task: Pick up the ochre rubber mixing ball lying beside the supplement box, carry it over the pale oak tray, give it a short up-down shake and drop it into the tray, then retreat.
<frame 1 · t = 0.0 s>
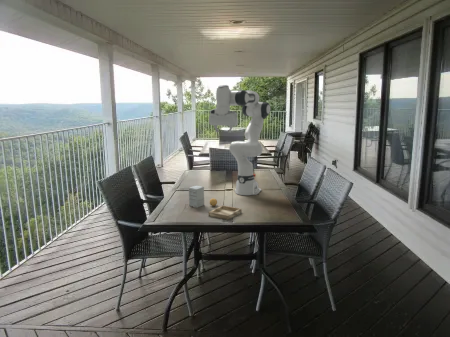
hand: (223, 132, 229), 48 cm above the table, fingers open, 8 cm apart
ball: (213, 202, 232), point 2 cm above the table
tray: (225, 214, 215), on the table
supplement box: (196, 205, 234), on the table
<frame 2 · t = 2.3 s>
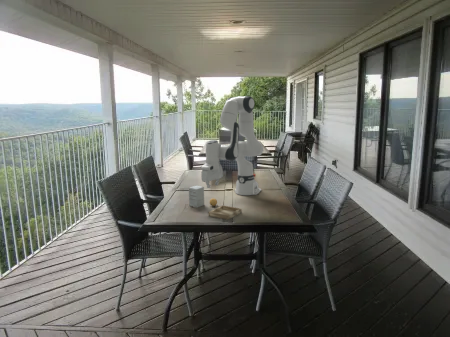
hand: (212, 186, 230), 13 cm above the table, fingers open, 8 cm apart
nothing on the table moved.
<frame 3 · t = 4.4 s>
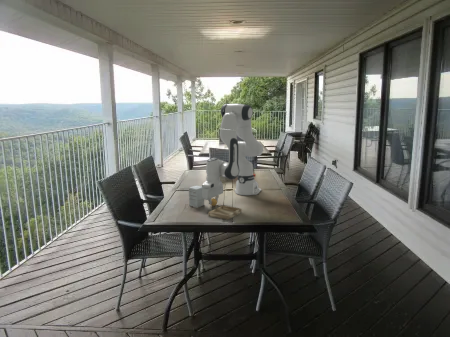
hand: (213, 203, 232), 2 cm above the table, fingers closed on ball, 5 cm apart
ball: (213, 202, 232), point 2 cm above the table, touching gripper
everything else where it was.
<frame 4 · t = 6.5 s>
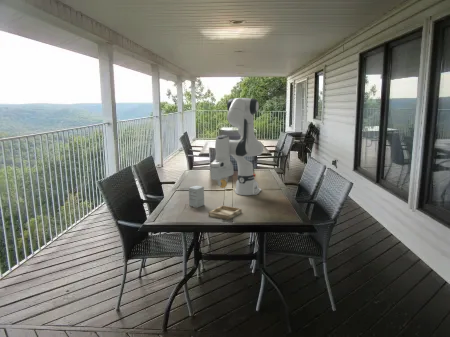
hand: (222, 184, 213), 18 cm above the table, fingers closed on ball, 5 cm apart
ball: (222, 183, 213), point 19 cm above the table, touching gripper
everything else where it was.
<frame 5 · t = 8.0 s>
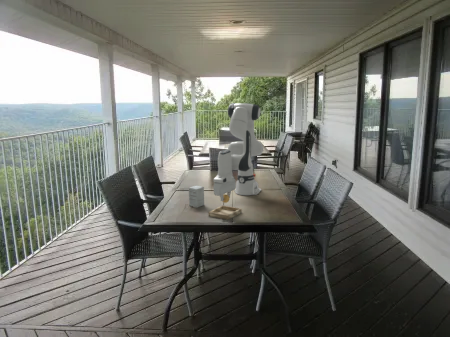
hand: (225, 199, 213), 9 cm above the table, fingers closed on ball, 5 cm apart
ball: (225, 198, 213), point 10 cm above the table, touching gripper
everything else where it was.
when the fingers open (6 cm above the table, at t = 9.1 s): ball drops 3 cm, resting on tray.
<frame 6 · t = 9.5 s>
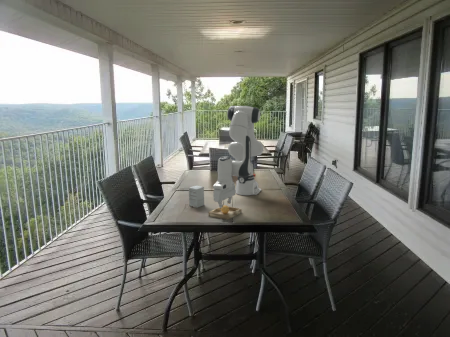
hand: (225, 205, 214), 6 cm above the table, fingers open, 8 cm apart
ball: (225, 209, 215), point 3 cm above the table, touching tray
everything else where it was.
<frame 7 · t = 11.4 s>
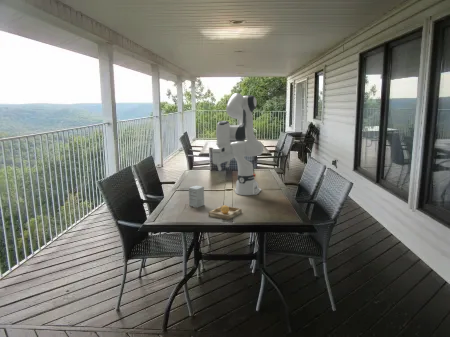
hand: (223, 168, 223), 26 cm above the table, fingers open, 8 cm apart
nothing on the table moved.
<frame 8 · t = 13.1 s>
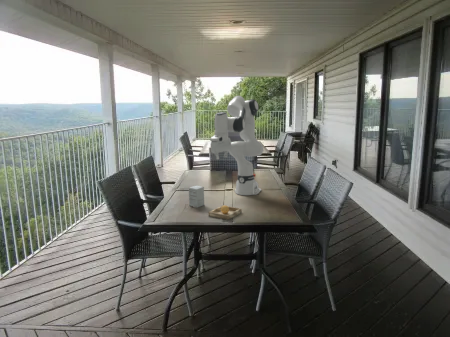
hand: (221, 158, 230), 31 cm above the table, fingers open, 8 cm apart
nothing on the table moved.
at the end: ball inside the target area on the tray (0.2 cm from its centre), point 3.1 cm above the tray's base; the gripper is holding nothing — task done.
